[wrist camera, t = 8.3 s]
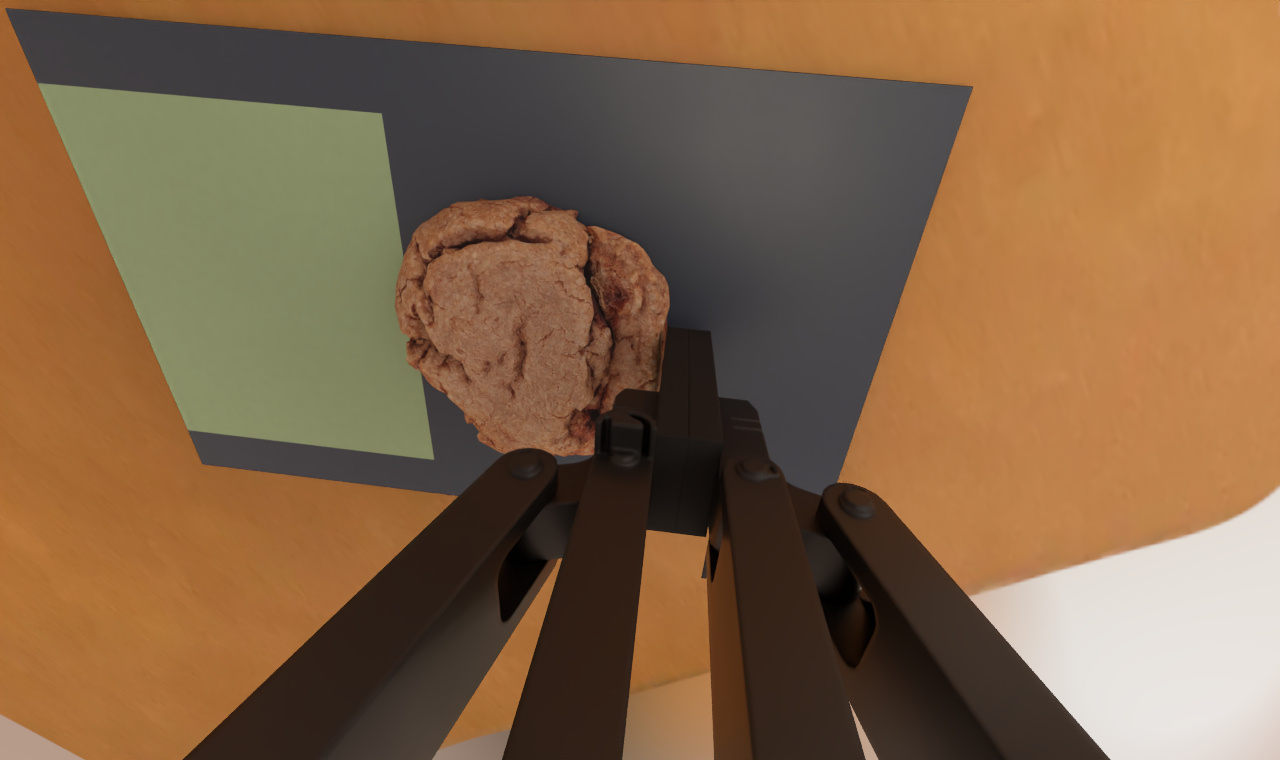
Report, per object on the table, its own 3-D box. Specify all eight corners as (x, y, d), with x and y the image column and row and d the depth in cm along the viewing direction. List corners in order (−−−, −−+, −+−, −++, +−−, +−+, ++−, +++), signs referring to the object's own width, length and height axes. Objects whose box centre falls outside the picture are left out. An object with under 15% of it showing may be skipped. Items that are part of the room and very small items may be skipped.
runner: (12, 9, 15) (3, 7, 15) (969, 87, 14) (973, 86, 14) (206, 461, 23) (202, 464, 23) (815, 537, 22) (817, 540, 22)
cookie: (458, 128, 15) (409, 124, 13) (731, 292, 17) (740, 320, 14) (381, 364, 20) (333, 399, 17) (605, 476, 21) (593, 524, 18)
